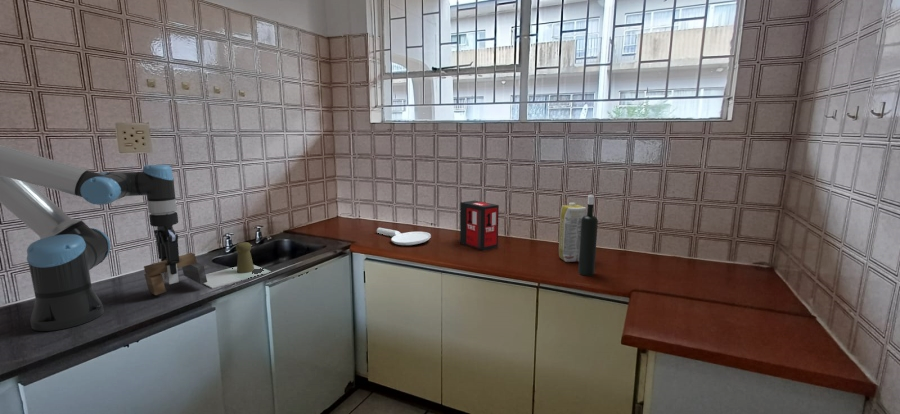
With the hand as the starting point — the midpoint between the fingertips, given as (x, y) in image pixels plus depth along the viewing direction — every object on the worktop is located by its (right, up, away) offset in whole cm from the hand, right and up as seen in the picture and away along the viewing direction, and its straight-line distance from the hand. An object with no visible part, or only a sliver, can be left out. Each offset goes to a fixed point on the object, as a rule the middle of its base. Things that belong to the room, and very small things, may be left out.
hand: (171, 281), depth 136 cm
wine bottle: (+145, 0, +18) cm, 146 cm away
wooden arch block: (+1, -1, +1) cm, 2 cm away
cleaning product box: (+107, +7, +57) cm, 121 cm away
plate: (+12, -1, +16) cm, 20 cm away
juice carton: (+144, +3, +35) cm, 148 cm away
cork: (+15, 0, +20) cm, 25 cm away
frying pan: (+68, +8, +68) cm, 97 cm away
